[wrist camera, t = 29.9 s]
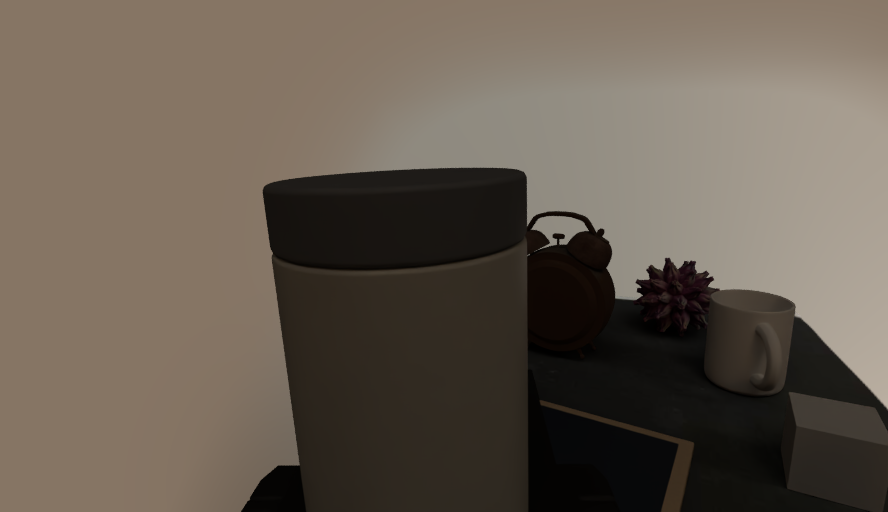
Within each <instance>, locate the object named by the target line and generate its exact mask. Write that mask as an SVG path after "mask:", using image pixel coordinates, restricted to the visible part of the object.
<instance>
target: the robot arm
mask: <svg viewBox="0 0 888 512" xmlns="http://www.w3.org/2000/svg"><path fill="white" fill-rule="evenodd" d="M241 512H306V507H305V499H304V492H303V485H302V477H301V470H300V466H277V467H276V468H275V469H274V470H272V471H271V472H270V473H269V474H268V475H266V476H265V477H264V478H263V479H262V480H261V481H260V483H259V484H258V486H257V487H256V489H255V490H254V492H253V494H252V495H251V497H250V501H247V503H246V505H245V506H244V508H243V509H242V511H241ZM528 512H620V510H619V507H618V505H617V502H616V501H615V497H614V495H613V492H612V490H611V487H610V485H609V482H608V480H607V479H606V478H605V477H604V476H603V475H602V474H601V472H600V471H599V470H598V469H597V468H596V467H595V466H594V465H593V464H556V461H555V458H554V454H553V450H552V446H551V442H550V438H549V434H548V431H547V427H546V423H545V419H544V415H543V411H542V408H541V404H540V400H539V396H538V392H537V388H536V384H535V381H534V377H533V373H532V370H528Z"/></svg>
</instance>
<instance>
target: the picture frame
mask: <svg viewBox="0 0 888 512" xmlns="http://www.w3.org/2000/svg"><path fill="white" fill-rule="evenodd" d="M540 404H541V408H542V411H543V415H544V419H545V423H546V427H547V431H548V434H549V438H550V442H551V446H552V450H553V454H554V458H555V461H556V464H593V465H594V466H595V467H596V468H597V469H598V470H599V471H600V472H601V474H602V475H603V476H604V477H605V478H606V479H607V480H608V482H609V485H610V487H611V490H612V492H613V495H614V497H615V501H616V502H617V505H618V507H619V510H620V512H681V507H682V502H683V498H684V493H685V489H686V484H687V479H688V475H689V470H690V465H691V461H692V456H693V451H694V443H693V442H689V441H686V440H682V439H679V438H675V437H671V436H668V435H664V434H661V433H657V432H653V431H650V430H646V429H643V428H639V427H635V426H632V425H628V424H625V423H621V422H617V421H614V420H610V419H607V418H603V417H599V416H596V415H592V414H589V413H585V412H581V411H578V410H574V409H571V408H567V407H563V406H560V405H556V404H553V403H549V402H545V401H542V400H540Z"/></svg>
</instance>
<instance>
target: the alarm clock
mask: <svg viewBox="0 0 888 512" xmlns="http://www.w3.org/2000/svg"><path fill="white" fill-rule="evenodd" d="M546 216H566V217H572V218H575V219H578V220H581V221H583V222H584V223H585V225H586V227H587V228H588V230H589V231H584V232H579V233H577V234H576V235H575V236H574V237H573V238H572V239H571V240H570V241H569V242H568V244H567V245H559V239H564V237H565V235H564V234H556V233H555V234H553V238H555V239H557V245H554V246H549V247H546V248H542V247H544V246H546V245H548V244H549V243H550V242H549V240H548V239H547V238H546V236H545V235H544V234H543V233H541V232H540V231H537V230H531V229H532V227H533V225H534V224H535V223H536V221H537V220H538V219H539V218H541V217H546ZM603 234H604V230H603V229H599V230H598V231H597V233H596V231H595V229H594V227H593V226H592V224H591V222H590V221H589V219H588V218H587V217H585V216H583V215H579V214H577V213H573V212H560V211H554V212H546V213H541V214H538V215H536V216H534V217H533V218H532V220H531V221H530V223H529V225H528V226H527V232H526V235H525V237H526V240H527V255H528V254H530V255H528V256H527V336H528V339H529V340H528V347H529V344H530V343H531V342H533V343H535V344H536V345H538V346H541V347H543V348H546V349H549V350H554V351H571V350H575V349H576V350H577V351H578V353H579V354H580V358H581V359H583V358H584V357H585V356H584V355H583V354H582V350H581V347H583V346H585V345H586V344H588V343H589V344H590V346H591V349H592V350H596V346H594V344H593V341H592V340H593V339H594V338H595V337H596V336H598V335H599V334H600V333H601V331H602V330H603V329H604V327H605V326H606V324H607V323H608V321H609V318H610V316H611V314H612V311H613V308H614V303H615V288H614V284H613V281H612V278H611V276H610V274H609V272H608V270H607V269H606V267H607V266H608V264H609V262H610V260H611V256H612V249H611V246H610V244H609V241H607V240H606V239H605V238H603V237H602V236H603ZM540 248H542V249H540ZM538 249H540V250H538ZM536 250H537V251H536ZM534 251H535V252H534Z"/></svg>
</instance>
